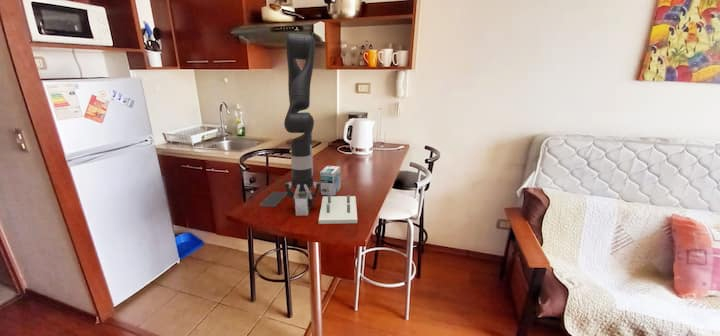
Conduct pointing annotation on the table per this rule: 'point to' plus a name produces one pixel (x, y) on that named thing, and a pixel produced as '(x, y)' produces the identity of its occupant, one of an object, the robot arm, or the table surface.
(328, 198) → the peg board
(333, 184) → the light bulb box
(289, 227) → the table surface
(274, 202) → the smartphone
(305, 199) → the plate
